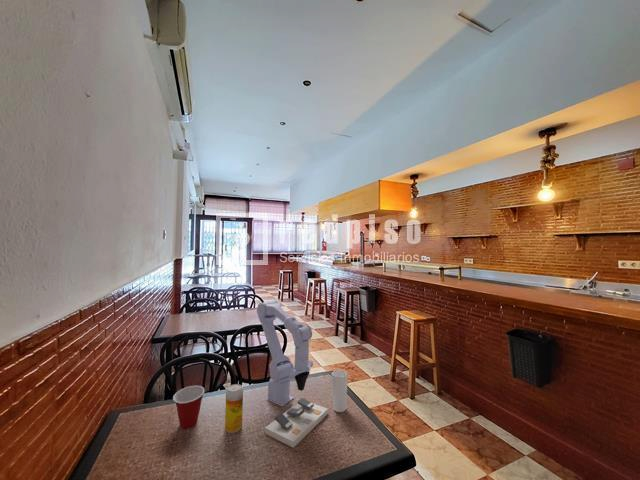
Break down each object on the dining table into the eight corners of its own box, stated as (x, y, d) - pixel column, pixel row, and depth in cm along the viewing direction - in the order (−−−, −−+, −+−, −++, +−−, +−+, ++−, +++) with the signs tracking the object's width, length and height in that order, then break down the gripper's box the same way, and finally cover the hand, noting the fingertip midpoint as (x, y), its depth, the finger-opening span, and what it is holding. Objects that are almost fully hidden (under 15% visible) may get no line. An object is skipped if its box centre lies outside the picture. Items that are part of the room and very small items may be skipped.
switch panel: (264, 433, 99) (265, 426, 99) (302, 403, 118) (302, 397, 118) (293, 447, 92) (293, 440, 92) (327, 413, 111) (327, 407, 111)
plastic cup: (165, 428, 100) (166, 395, 101) (191, 413, 110) (192, 383, 110) (184, 438, 95) (185, 403, 96) (209, 421, 105) (210, 389, 105)
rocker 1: (274, 419, 100) (275, 416, 100) (280, 414, 103) (281, 412, 103) (286, 430, 97) (287, 428, 97) (291, 426, 100) (292, 423, 100)
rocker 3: (297, 403, 112) (297, 401, 112) (301, 400, 115) (302, 397, 115) (309, 410, 109) (309, 407, 109) (313, 406, 111) (314, 403, 111)
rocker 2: (287, 414, 106) (286, 411, 106) (292, 410, 109) (291, 407, 109) (299, 416, 103) (298, 413, 103) (304, 412, 106) (303, 409, 106)
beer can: (236, 435, 97) (238, 392, 98) (221, 432, 99) (222, 390, 99) (244, 424, 103) (246, 384, 104) (230, 422, 104) (231, 382, 105)
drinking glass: (347, 405, 117) (347, 370, 118) (347, 414, 111) (347, 377, 111) (332, 404, 118) (332, 369, 119) (330, 413, 112) (330, 376, 112)
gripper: (299, 364, 105) (298, 400, 104) (319, 352, 117) (318, 385, 117) (284, 360, 108) (283, 395, 108) (305, 349, 121) (304, 380, 120)
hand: (300, 389), depth 112 cm, fingers closed
